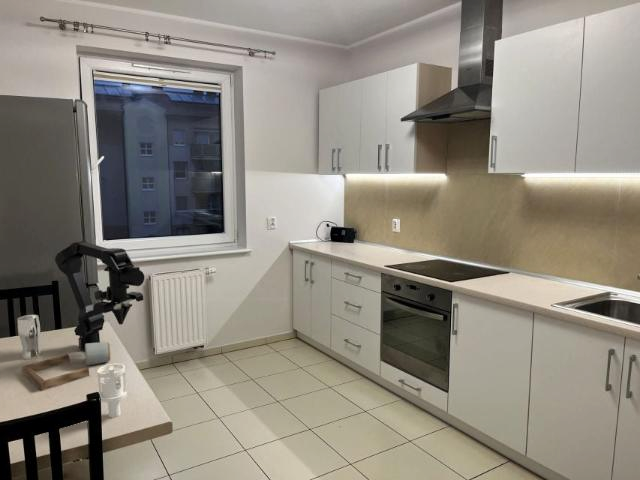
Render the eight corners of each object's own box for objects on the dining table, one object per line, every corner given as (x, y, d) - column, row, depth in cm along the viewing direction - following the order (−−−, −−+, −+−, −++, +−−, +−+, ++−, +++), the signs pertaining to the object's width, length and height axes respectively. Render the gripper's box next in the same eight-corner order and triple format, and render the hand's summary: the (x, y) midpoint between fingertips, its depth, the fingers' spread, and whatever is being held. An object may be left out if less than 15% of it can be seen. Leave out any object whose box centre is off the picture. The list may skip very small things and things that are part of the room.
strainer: (101, 423, 128) (97, 371, 126) (100, 411, 135) (96, 362, 132) (128, 417, 131) (125, 367, 129) (127, 406, 137) (123, 357, 135)
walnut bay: (68, 360, 171) (67, 353, 170) (89, 375, 158) (88, 368, 158) (22, 373, 160) (22, 366, 160) (41, 390, 147) (41, 383, 147)
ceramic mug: (111, 364, 167) (110, 343, 166) (86, 368, 163) (84, 347, 162) (108, 354, 177) (107, 334, 176) (84, 358, 173) (82, 338, 172)
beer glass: (20, 361, 170) (15, 321, 168) (21, 354, 176) (17, 316, 174) (42, 357, 173) (38, 318, 171) (43, 351, 179) (39, 313, 177)
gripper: (121, 276, 183) (124, 314, 186) (80, 287, 166) (83, 329, 169) (143, 278, 179) (145, 317, 181) (103, 290, 162) (106, 333, 164)
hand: (120, 324), depth 174 cm, fingers closed
